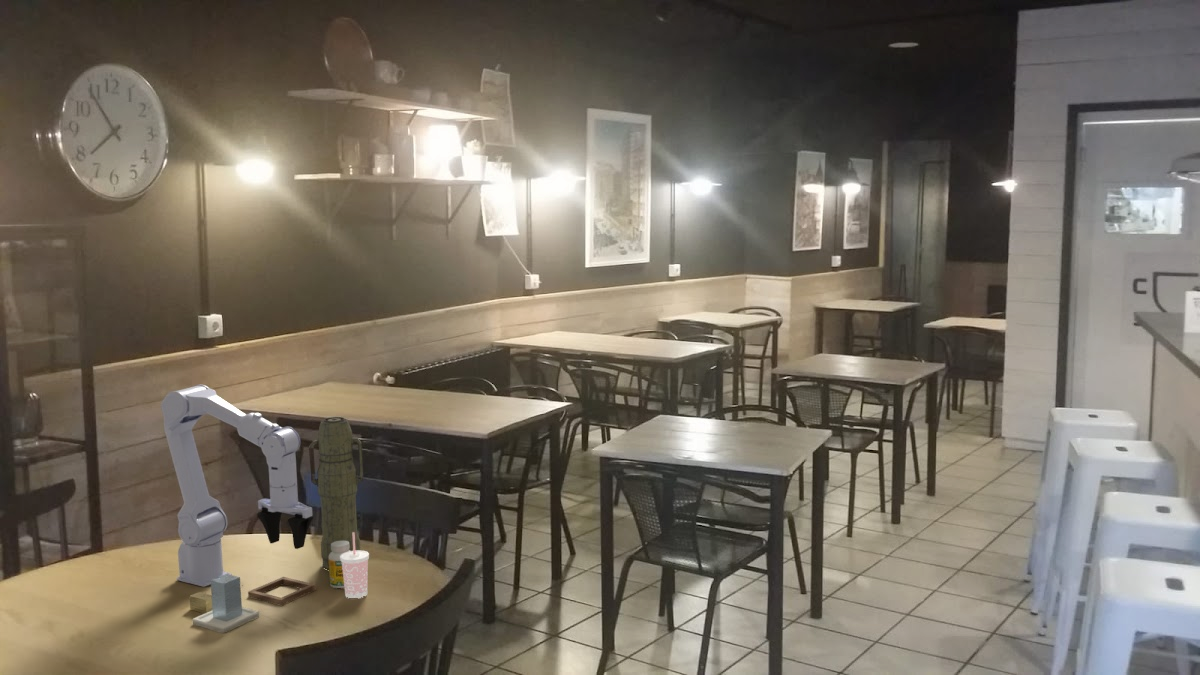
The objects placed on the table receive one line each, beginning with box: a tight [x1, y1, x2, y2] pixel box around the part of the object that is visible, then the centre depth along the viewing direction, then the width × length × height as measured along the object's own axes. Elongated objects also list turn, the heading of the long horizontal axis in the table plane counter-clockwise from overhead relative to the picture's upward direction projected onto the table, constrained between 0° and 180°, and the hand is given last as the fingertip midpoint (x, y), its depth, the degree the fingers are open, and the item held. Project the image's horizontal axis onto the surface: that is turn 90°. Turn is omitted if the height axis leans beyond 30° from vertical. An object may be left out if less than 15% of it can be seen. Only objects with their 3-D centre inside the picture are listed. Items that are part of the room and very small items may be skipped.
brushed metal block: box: [210, 574, 243, 622], centre depth 209 cm, size 4×4×8 cm
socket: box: [247, 576, 317, 606], centre depth 224 cm, size 10×10×1 cm
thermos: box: [308, 416, 364, 571], centre depth 238 cm, size 9×12×35 cm
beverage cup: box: [340, 532, 370, 599], centre depth 221 cm, size 6×6×14 cm
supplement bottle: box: [328, 541, 350, 589], centre depth 228 cm, size 5×5×10 cm
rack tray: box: [192, 606, 260, 634], centre depth 209 cm, size 9×9×1 cm
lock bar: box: [189, 591, 212, 614], centre depth 215 cm, size 5×2×3 cm, turn 60°
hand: (286, 544), depth 224 cm, fingers open, 7 cm apart
